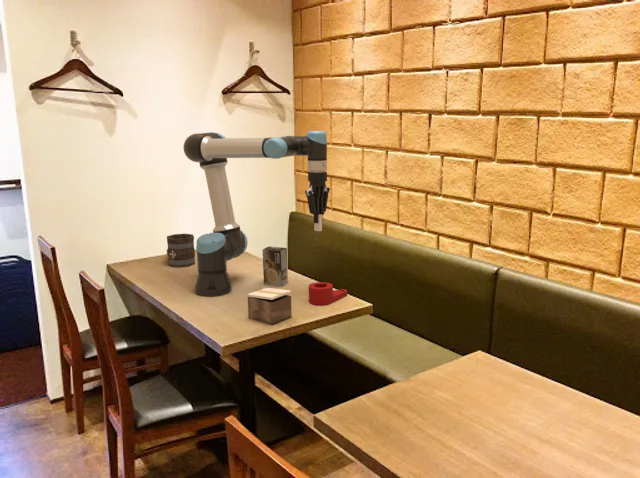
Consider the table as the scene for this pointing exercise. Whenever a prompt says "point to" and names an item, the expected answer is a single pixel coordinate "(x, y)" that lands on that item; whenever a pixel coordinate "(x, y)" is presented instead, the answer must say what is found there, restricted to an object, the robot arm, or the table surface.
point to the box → (270, 309)
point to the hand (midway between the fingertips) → (318, 230)
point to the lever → (324, 294)
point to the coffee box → (275, 266)
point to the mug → (181, 250)
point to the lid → (269, 293)
